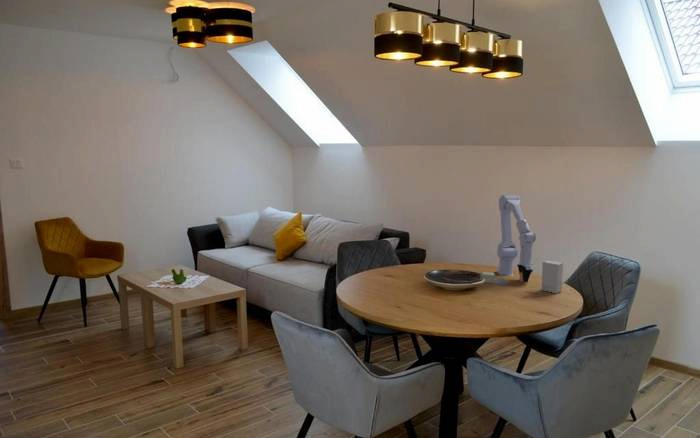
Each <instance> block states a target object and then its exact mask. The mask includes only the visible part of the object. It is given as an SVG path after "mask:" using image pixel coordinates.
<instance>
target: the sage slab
mask: <svg viewBox="0 0 700 438" xmlns="http://www.w3.org/2000/svg"><path fill="white" fill-rule="evenodd" d="M480 275H481V276H482V277H483V279H495V278H496V275H495V273H494V272H489V271H487V272H486V271H481V274H480Z"/></svg>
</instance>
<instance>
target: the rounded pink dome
mask: <svg viewBox="0 0 700 438" xmlns="http://www.w3.org/2000/svg"><path fill="white" fill-rule="evenodd" d="M518 281H519V282H520V283H522V284H523V283H524V284H529V281H528V282H523V274H522V272H521V273H520V275H519V280H518Z"/></svg>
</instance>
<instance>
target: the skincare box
mask: <svg viewBox="0 0 700 438" xmlns="http://www.w3.org/2000/svg"><path fill="white" fill-rule="evenodd" d="M541 268H542V269H541V270H542V271H541V291H542V290H543V291H542V292H547V291H548V292H547V293H551V292H552V294H556V293H557V294H560V293H562V292H563V291H562V290H563V270H564V269H563V268H564V263H563V262H560V261H554V260H545V261H542V267H541ZM559 292H560V293H559Z"/></svg>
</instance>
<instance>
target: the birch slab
mask: <svg viewBox="0 0 700 438" xmlns="http://www.w3.org/2000/svg"><path fill="white" fill-rule="evenodd" d="M480 276H481V274H480V275H479V277H480ZM481 278H482V279H483V277H482V276H481ZM496 278H497V277H495V279H485V282H484V283H496Z"/></svg>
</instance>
